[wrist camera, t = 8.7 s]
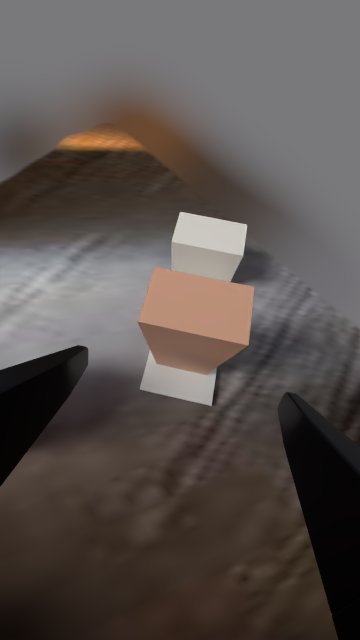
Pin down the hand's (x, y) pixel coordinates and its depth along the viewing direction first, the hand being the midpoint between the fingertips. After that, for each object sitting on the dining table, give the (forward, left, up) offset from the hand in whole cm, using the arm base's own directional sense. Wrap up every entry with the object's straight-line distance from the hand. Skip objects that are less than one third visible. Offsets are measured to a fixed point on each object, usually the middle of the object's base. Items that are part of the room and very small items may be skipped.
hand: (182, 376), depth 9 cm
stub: (+2, -2, -11) cm, 12 cm away
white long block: (+6, -5, -12) cm, 14 cm away
